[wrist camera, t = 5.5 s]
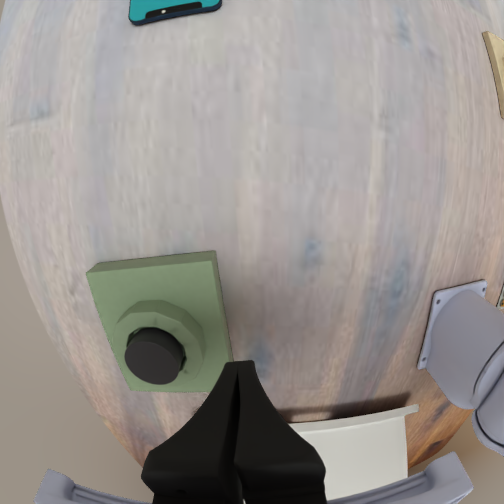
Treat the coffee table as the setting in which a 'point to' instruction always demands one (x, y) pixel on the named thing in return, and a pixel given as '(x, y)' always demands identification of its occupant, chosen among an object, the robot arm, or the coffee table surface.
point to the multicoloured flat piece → (501, 301)
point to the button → (154, 356)
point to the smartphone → (167, 9)
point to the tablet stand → (360, 450)
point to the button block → (166, 313)
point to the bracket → (496, 63)
